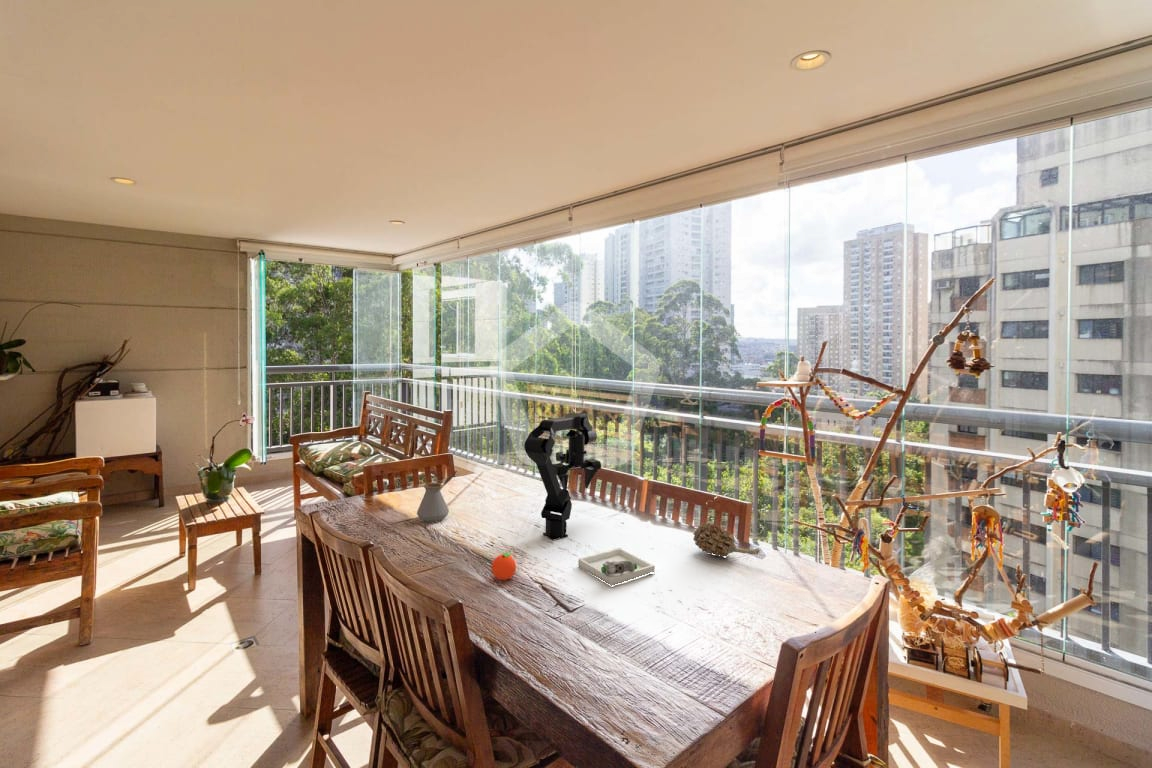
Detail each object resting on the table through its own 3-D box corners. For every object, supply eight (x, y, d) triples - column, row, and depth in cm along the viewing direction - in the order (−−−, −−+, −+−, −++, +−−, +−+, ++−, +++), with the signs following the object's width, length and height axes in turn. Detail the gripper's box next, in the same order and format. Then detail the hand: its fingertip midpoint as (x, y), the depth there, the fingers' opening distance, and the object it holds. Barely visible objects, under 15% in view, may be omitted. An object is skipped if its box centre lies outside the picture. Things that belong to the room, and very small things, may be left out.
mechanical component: (623, 567, 168) (637, 572, 159) (591, 571, 165) (604, 575, 155) (623, 557, 168) (636, 561, 159) (591, 560, 165) (603, 564, 156)
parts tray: (611, 587, 155) (611, 578, 155) (578, 566, 168) (578, 558, 168) (654, 573, 164) (654, 565, 164) (619, 555, 177) (619, 547, 177)
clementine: (507, 570, 165) (507, 546, 164) (523, 577, 160) (524, 553, 160) (486, 579, 159) (486, 555, 158) (503, 586, 154) (503, 561, 154)
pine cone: (687, 555, 179) (688, 524, 178) (698, 545, 186) (700, 516, 186) (757, 572, 166) (758, 540, 165) (766, 561, 174) (767, 531, 173)
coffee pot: (436, 526, 200) (436, 485, 199) (410, 521, 204) (409, 481, 203) (469, 509, 220) (469, 471, 218) (445, 505, 224) (445, 468, 223)
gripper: (585, 441, 214) (584, 480, 215) (542, 445, 203) (542, 487, 205) (602, 446, 204) (601, 488, 206) (558, 452, 194) (558, 495, 196)
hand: (575, 489), depth 203 cm, fingers open, 9 cm apart
